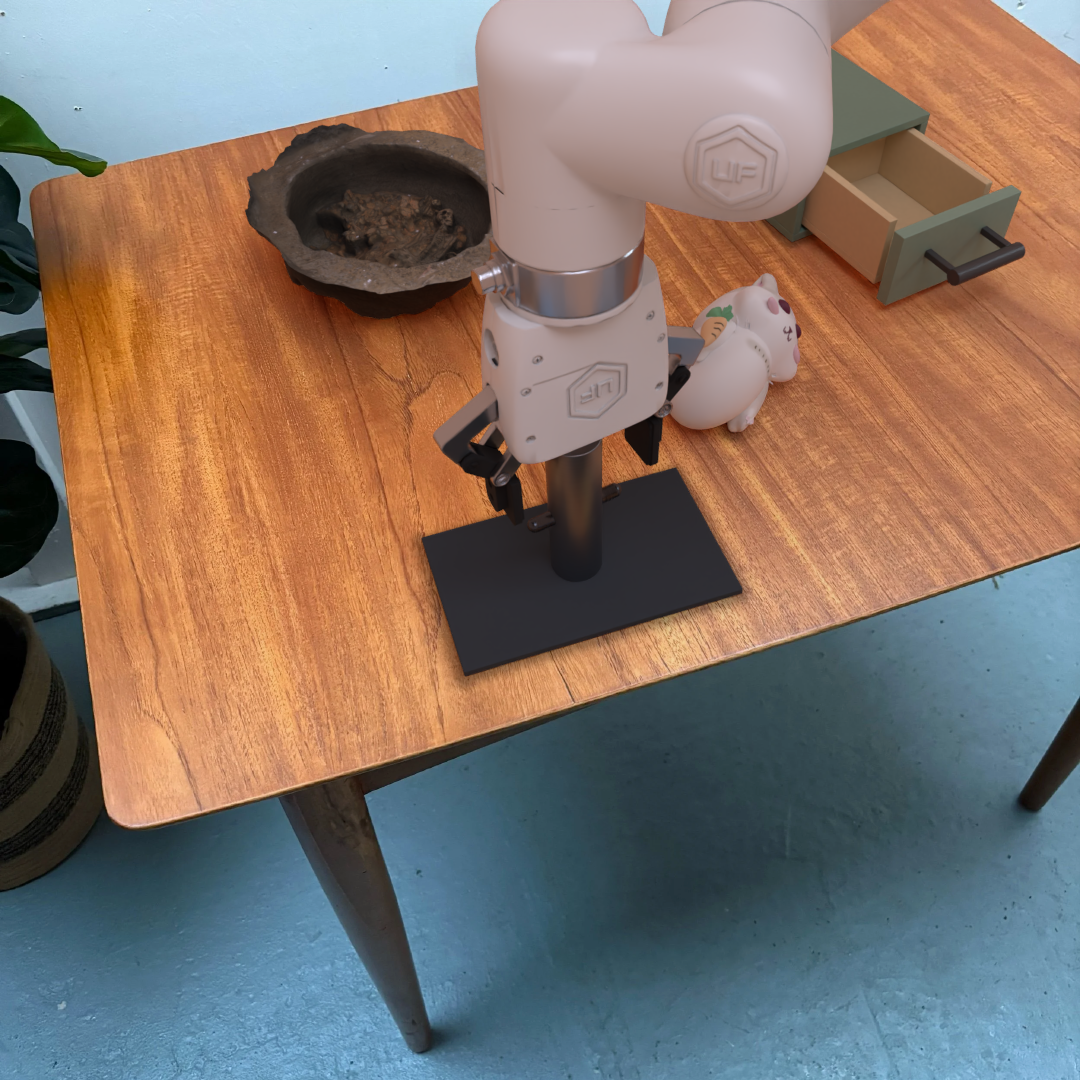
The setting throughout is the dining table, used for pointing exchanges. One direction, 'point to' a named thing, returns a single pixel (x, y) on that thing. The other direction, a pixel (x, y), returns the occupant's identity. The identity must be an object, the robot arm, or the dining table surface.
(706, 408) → the cat figurine
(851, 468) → the dining table surface
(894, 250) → the drawer
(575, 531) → the upright metal rod
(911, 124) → the cabinet
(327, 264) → the stone bowl
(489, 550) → the base plate
